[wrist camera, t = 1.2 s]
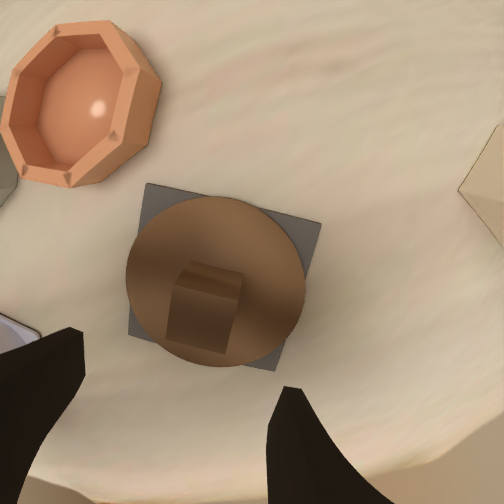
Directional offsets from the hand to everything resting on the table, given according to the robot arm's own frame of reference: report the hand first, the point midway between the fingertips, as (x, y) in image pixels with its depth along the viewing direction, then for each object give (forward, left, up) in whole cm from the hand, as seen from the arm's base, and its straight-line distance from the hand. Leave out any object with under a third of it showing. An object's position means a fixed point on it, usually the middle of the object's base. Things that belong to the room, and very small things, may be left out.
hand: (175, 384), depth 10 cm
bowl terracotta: (+9, +10, -9) cm, 16 cm away
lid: (0, 0, -9) cm, 9 cm away
